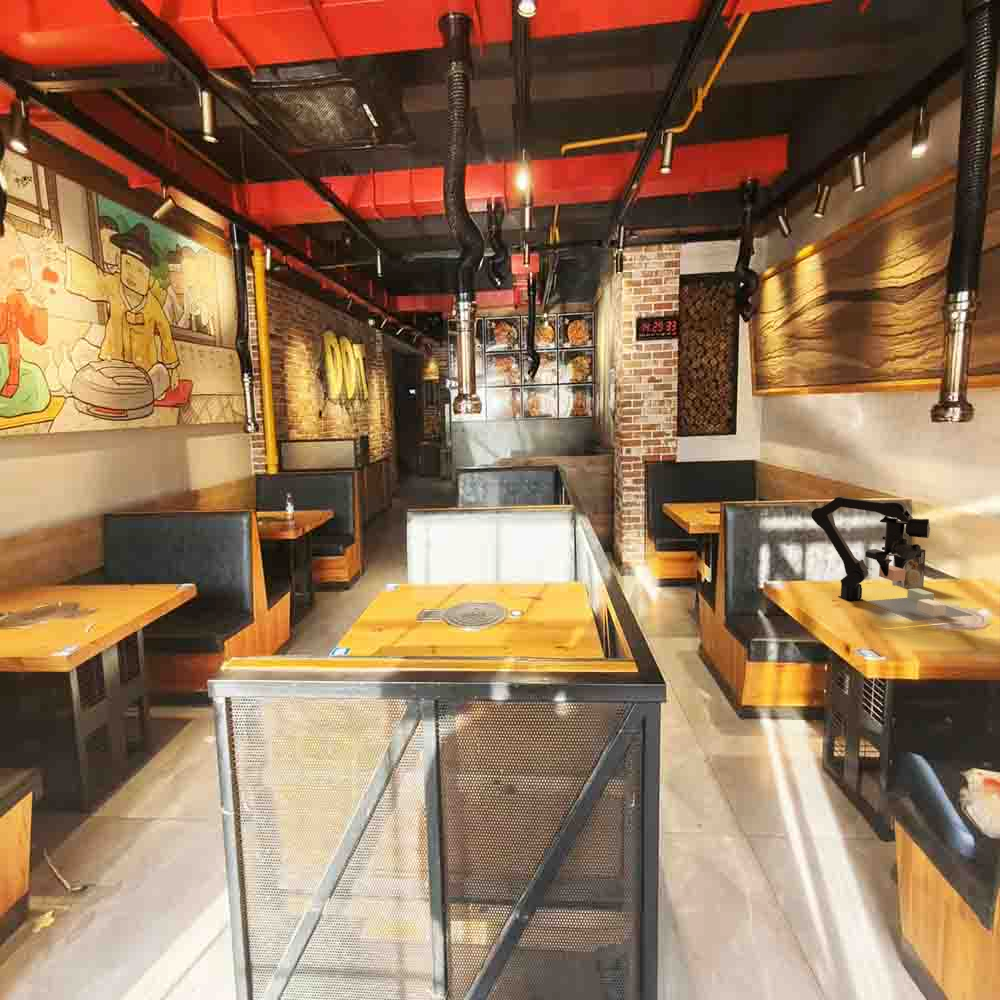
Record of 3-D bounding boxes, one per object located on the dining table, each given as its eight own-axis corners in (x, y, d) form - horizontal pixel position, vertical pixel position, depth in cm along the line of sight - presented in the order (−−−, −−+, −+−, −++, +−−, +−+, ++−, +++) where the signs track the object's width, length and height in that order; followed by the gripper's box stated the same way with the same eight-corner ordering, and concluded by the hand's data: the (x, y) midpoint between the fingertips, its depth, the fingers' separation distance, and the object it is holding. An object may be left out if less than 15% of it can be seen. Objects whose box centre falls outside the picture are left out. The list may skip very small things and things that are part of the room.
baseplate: (912, 621, 204) (913, 609, 203) (865, 602, 225) (865, 591, 224) (973, 616, 207) (974, 604, 206) (920, 597, 228) (921, 586, 228)
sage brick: (933, 603, 219) (934, 593, 219) (922, 604, 219) (923, 594, 218) (917, 598, 226) (918, 588, 226) (907, 599, 226) (907, 589, 225)
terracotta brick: (904, 580, 215) (905, 569, 214) (893, 581, 214) (894, 570, 214) (889, 575, 222) (890, 565, 221) (879, 576, 221) (879, 566, 221)
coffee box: (911, 583, 247) (913, 546, 244) (923, 587, 240) (926, 549, 238) (891, 584, 245) (893, 547, 243) (903, 589, 239) (906, 551, 237)
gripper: (888, 540, 207) (886, 583, 209) (935, 537, 209) (932, 579, 211) (865, 534, 218) (863, 575, 220) (910, 531, 220) (907, 571, 222)
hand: (891, 575), depth 218 cm, fingers closed on terracotta brick, 5 cm apart
